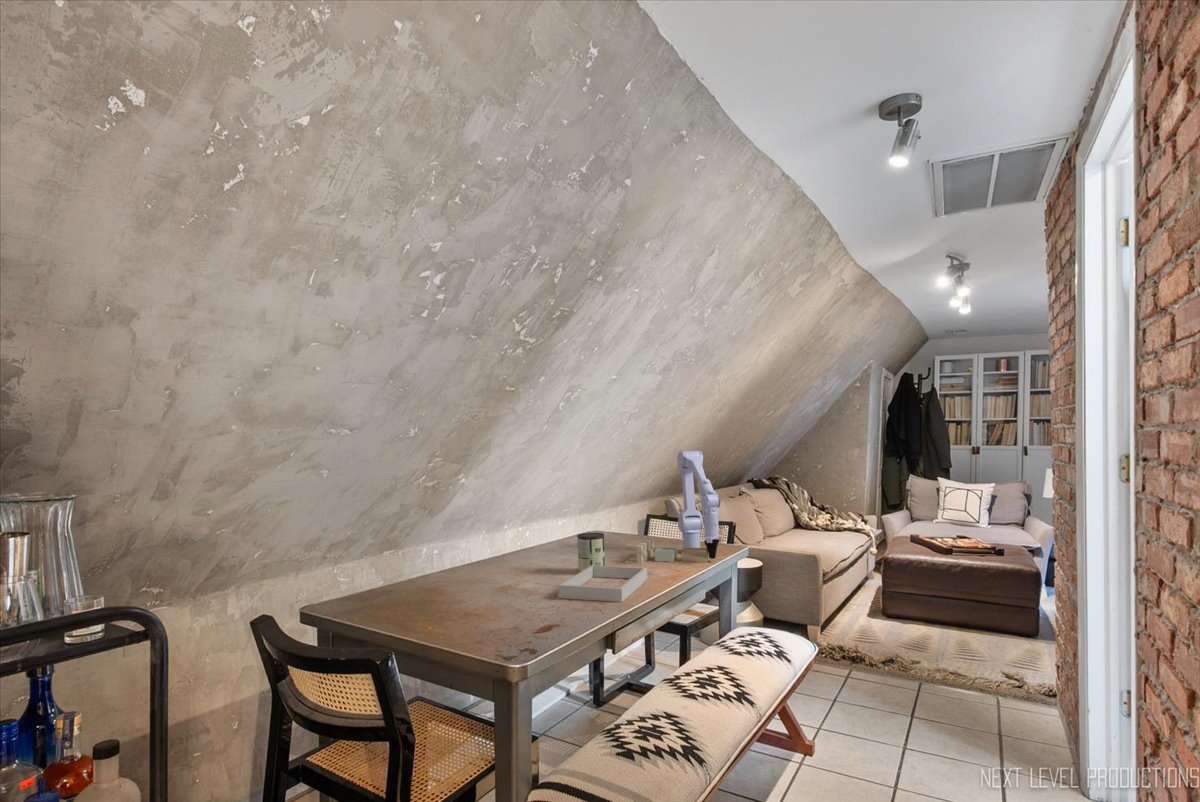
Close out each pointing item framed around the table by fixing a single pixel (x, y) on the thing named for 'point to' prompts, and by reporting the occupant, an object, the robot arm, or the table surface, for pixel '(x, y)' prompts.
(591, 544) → the coffee can
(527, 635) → the table surface
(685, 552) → the peg
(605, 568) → the gray rectangular frame
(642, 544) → the wall
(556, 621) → the table surface
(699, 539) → the robot arm
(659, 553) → the block
